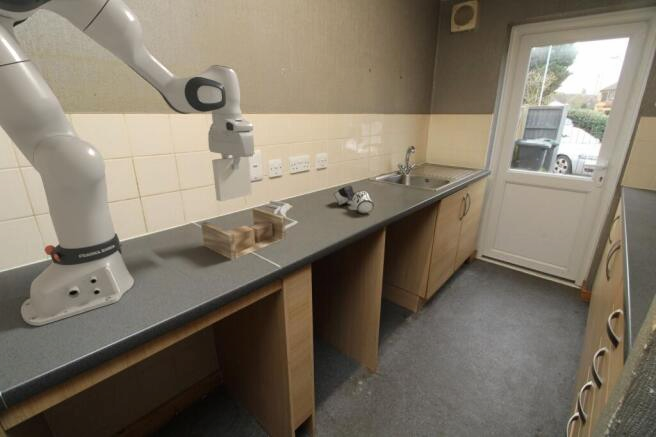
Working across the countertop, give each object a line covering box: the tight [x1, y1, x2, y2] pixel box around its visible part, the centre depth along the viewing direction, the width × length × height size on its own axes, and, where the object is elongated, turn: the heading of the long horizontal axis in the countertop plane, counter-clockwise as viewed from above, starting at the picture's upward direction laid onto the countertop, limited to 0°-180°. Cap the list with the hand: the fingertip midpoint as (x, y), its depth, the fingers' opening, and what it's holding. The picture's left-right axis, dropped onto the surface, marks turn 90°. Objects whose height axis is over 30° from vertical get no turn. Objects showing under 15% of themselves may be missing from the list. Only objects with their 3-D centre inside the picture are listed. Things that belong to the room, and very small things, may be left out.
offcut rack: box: [200, 207, 287, 261], centre depth 105 cm, size 22×16×10 cm
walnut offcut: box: [250, 222, 273, 243], centre depth 108 cm, size 6×4×5 cm, turn 140°
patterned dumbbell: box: [333, 184, 374, 215], centre depth 146 cm, size 25×10×10 cm, turn 31°
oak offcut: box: [227, 225, 255, 253], centre depth 101 cm, size 8×5×6 cm, turn 140°
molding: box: [265, 199, 299, 230], centre depth 135 cm, size 42×12×3 cm, turn 15°
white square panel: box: [211, 156, 253, 202], centre depth 102 cm, size 12×2×13 cm, turn 140°
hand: (232, 168), depth 101 cm, fingers closed on white square panel, 2 cm apart
